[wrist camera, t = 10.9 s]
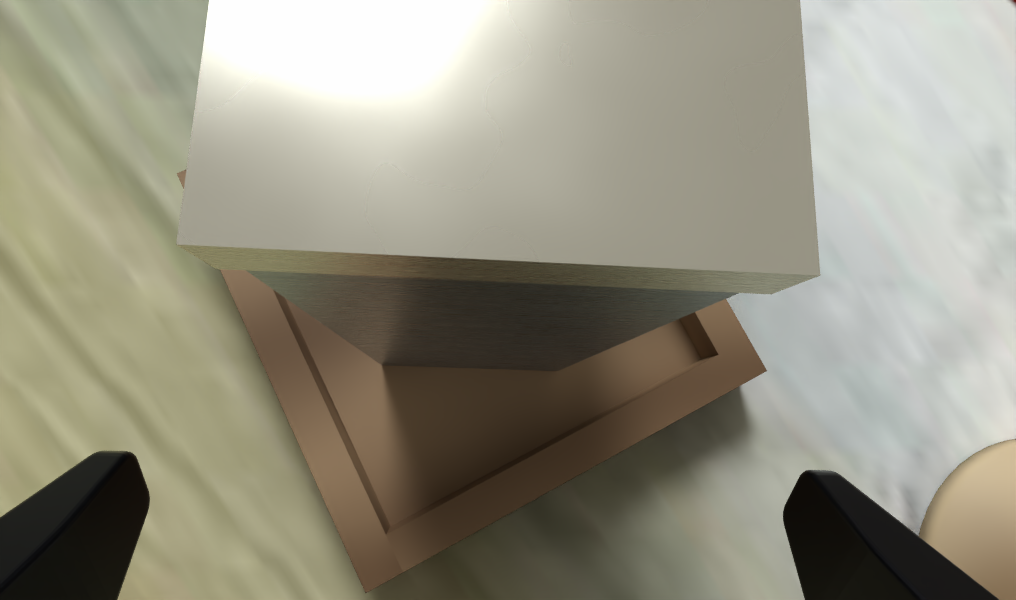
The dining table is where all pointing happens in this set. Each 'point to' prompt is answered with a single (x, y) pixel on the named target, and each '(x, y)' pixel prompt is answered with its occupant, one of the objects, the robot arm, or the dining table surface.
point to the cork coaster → (979, 518)
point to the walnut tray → (470, 421)
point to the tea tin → (502, 167)
